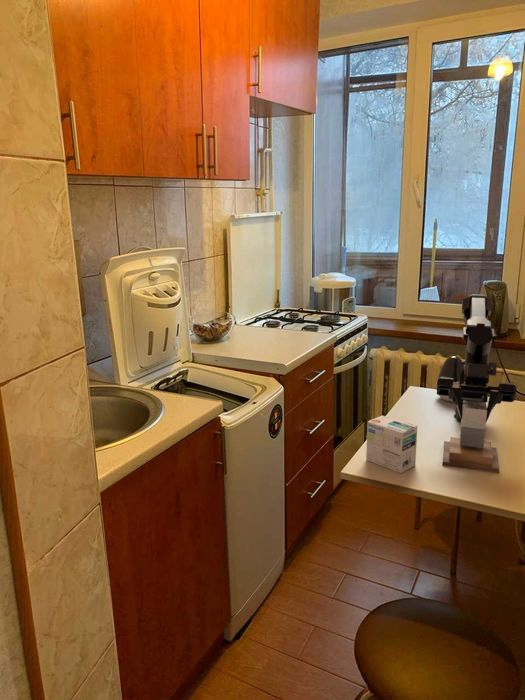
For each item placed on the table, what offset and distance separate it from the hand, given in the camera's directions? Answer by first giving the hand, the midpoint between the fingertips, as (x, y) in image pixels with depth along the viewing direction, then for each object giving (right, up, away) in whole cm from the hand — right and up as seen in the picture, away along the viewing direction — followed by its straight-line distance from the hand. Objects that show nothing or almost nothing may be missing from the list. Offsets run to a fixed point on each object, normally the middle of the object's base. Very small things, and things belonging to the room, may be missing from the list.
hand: (473, 419), depth 134 cm
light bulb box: (-20, -11, +2) cm, 23 cm away
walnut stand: (+1, -10, +4) cm, 11 cm away
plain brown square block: (+1, -6, +3) cm, 7 cm away
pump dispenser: (+11, +1, +47) cm, 48 cm away
